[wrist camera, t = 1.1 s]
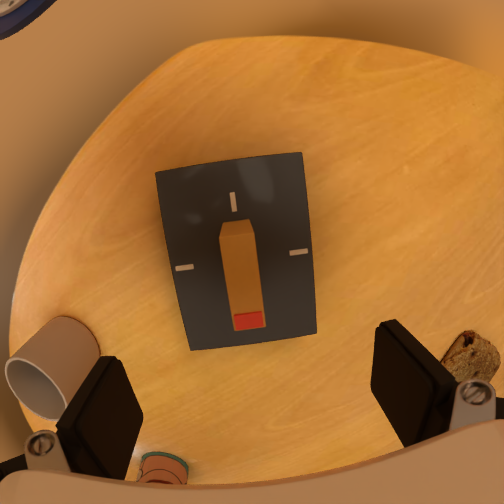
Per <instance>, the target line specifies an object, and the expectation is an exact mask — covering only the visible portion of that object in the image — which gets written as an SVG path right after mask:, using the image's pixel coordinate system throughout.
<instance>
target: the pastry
mask: <svg viewBox="0 0 504 504" xmlns="http://www.w3.org/2000/svg"><path fill="white" fill-rule="evenodd" d="M500 363H501V362H500V354H499V352H497V349H496V347H495V346H493V345H490V344H489V343H487V342H486V341H484V340H483V339H482V338H481V337H480V336H479V335H477V334H475V333H471V332H465V333H464V334H462V335H461V336H460V337H459V338H458V339H457V340H456V341H455V343H454V344H453V346H452V347H451V348H450V349H449V351H448V353H447V355H446V357H445V358H443V360H442V362H441V364H442V365H443V366H444V367H445V368H446V369H447V370H448V371H449V372H450V373H451V374H452V375H453V376H454V377H455V378H456V379H455V380H456V381H457V382H458V383H459V384H460V383H461V382H463V381H465V380H468V379H481V380H484V381H487V382H488V383H489V382H490V381H491V379H492V377H493V376H494V375H495V373H496V372H497V370H498V368H499V366H500Z"/></svg>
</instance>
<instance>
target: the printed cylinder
mask: <svg viewBox="0 0 504 504" xmlns="http://www.w3.org/2000/svg"><path fill="white" fill-rule="evenodd" d="M187 478H188V466H187V464H186V463H185V462H184V461H183V460H182V459H180V458H178V457H176V456H174V455H171V454H168V453H162V452H150V453H146V454H145V455H144V456H143V457H142V460H141V464H140V468H139V472H138V475H137V479H136V482H144V483H157V484H177V485H187Z"/></svg>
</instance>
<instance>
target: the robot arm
mask: <svg viewBox="0 0 504 504" xmlns="http://www.w3.org/2000/svg"><path fill="white" fill-rule="evenodd" d="M26 1H27V0H0V17H1V16H4V15H6V14H8V13H10V12H12V11H14V10H15V9H17V8H18V7H20V6H21V5H22V4H24V3H25V2H26ZM455 379H456V378H455V377H454V376H453V375H452V374H451V373H450V372H449V371H448V370H447V369H446V368H445V367H444V366H443V365H442V364H441V363H440V362H439V361H438V360H437V359H436V358H435V357H434V356H433V355H432V354H431V353H430V352H429V351H428V350H427V349H426V348H425V347H424V346H423V345H422V344H421V343H420V342H419V341H418V340H417V339H416V338H415V337H414V336H413V335H412V334H411V333H410V332H409V331H408V330H407V329H406V328H404V327H403V326H402V325H401V324H400V323H399V322H398V321H397V320H396V319H393V320H389V321H384V322H381V323H380V325H379V327H377V328H376V330H375V342H374V354H373V365H372V375H371V384H370V385H371V390H372V393H373V395H374V396H375V398H376V400H377V401H378V403H379V405H380V406H381V408H382V410H383V411H384V413H385V415H386V416H387V418H388V420H389V422H390V423H391V425H392V427H393V428H394V430H395V432H396V434H397V435H398V437H399V439H400V441H401V442H402V444H403V446H404V448H403V449H400V450H397V451H394V452H391V453H388V454H385V455H382V456H379V457H376V458H372V459H369V460H366V461H362V462H359V463H355V464H351V465H348V466H344V467H340V468H335V469H331V470H327V471H322V472H317V473H312V474H307V475H301V476H296V477H289V478H283V479H276V480H268V481H259V482H248V483H235V484H214V485H177V484H157V483H144V482H134V481H125V480H124V479H125V476H126V473H127V470H128V466H129V463H130V460H131V457H132V453H133V450H134V447H135V444H136V441H137V438H138V434H139V431H140V428H141V425H142V422H143V412H142V410H141V408H140V405H139V403H138V401H137V399H136V396H135V394H134V392H133V389H132V387H131V384H130V382H129V379H128V377H127V374H126V372H125V369H124V367H123V364H122V362H121V361H120V360H118V359H117V358H116V357H115V356H101V357H100V358H99V359H98V360H97V362H96V363H95V365H94V366H93V368H92V369H91V371H90V372H89V374H88V375H87V377H86V378H85V380H84V381H83V383H82V384H81V386H80V387H79V389H78V390H77V392H76V394H75V395H74V397H73V398H72V400H71V401H70V403H69V404H68V406H67V408H66V409H65V411H64V412H63V414H62V416H61V417H60V419H59V421H58V422H57V424H56V425H55V426H56V427H57V429H58V430H57V432H56V433H54V432H53V431H50V430H40V431H37V432H35V433H33V434H32V435H30V436H29V437H28V438H27V440H26V442H25V444H24V452H25V454H23V455H20V456H18V457H15V458H12V459H10V460H8V461H5V462H2V463H0V504H504V398H498V397H496V393H495V389H494V388H493V386H492V385H491V384H490V383H488V382H487V381H484V380H481V379H468V380H465V381H463V382H461V383H460V384H459V383H458V382H457V381H456V380H455Z"/></svg>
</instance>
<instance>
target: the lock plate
mask: <svg viewBox="0 0 504 504" xmlns="http://www.w3.org/2000/svg"><path fill="white" fill-rule="evenodd" d="M155 177H156V184H157V191H158V197H159V204H160V210H161V216H162V222H163V227H164V233H165V239H166V244H167V249H168V254H169V260H170V265H171V269H172V274H173V279H174V284H175V288H176V293H177V297H178V302H179V306H180V310H181V315H182V319H183V323H184V327H185V331H186V335H187V339H188V343H189V347H190V350H191V351H194V350H204V349H214V348H223V347H232V346H240V345H248V344H255V343H262V342H269V341H276V340H282V339H288V338H294V337H300V336H306V335H312V334H316V333H317V323H316V302H315V285H314V269H313V256H312V243H311V231H310V220H309V210H308V200H307V190H306V181H305V173H304V164H303V156H302V152H295V153H284V154H274V155H265V156H256V157H248V158H240V159H232V160H225V161H218V162H212V163H205V164H199V165H193V166H187V167H181V168H176V169H170V170H165V171H159V172H156V173H155ZM246 219H249V220H250V223H251V225H252V228H253V231H254V235H255V243H256V251H257V258H258V266H259V274H260V282H261V290H262V298H263V306H264V314H265V322H266V327H262V328H255V329H248V330H240V331H234V327H233V321H232V316H231V310H230V304H229V298H228V292H227V286H226V280H225V274H224V268H223V261H222V255H221V249H220V242H219V236H220V232H221V228H222V224H223V223H224V222H232V221H239V220H246Z"/></svg>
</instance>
